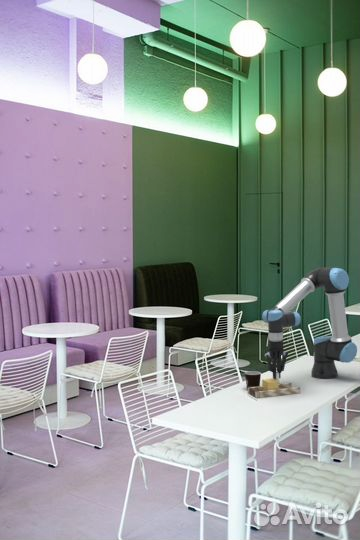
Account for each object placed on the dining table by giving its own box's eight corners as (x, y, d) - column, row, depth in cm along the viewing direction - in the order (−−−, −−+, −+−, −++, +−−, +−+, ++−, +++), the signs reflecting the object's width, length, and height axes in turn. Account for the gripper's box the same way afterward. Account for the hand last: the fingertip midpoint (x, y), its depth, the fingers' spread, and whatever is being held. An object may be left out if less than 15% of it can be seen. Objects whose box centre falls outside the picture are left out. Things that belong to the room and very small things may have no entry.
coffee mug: (260, 393, 329) (260, 374, 328) (244, 393, 331) (244, 374, 330) (262, 388, 340) (261, 370, 340) (246, 387, 342) (246, 369, 342)
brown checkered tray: (290, 390, 334) (289, 382, 334) (300, 395, 322) (300, 387, 322) (247, 395, 326) (247, 387, 326) (257, 400, 315) (256, 392, 315)
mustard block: (272, 391, 328) (272, 378, 328) (278, 394, 321) (278, 381, 321) (262, 392, 326) (262, 379, 326) (268, 395, 319) (268, 382, 319)
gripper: (267, 342, 318) (268, 387, 319) (290, 340, 321) (291, 385, 323) (261, 340, 325) (262, 384, 326) (283, 338, 329) (284, 381, 330)
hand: (276, 384), depth 325 cm, fingers closed
